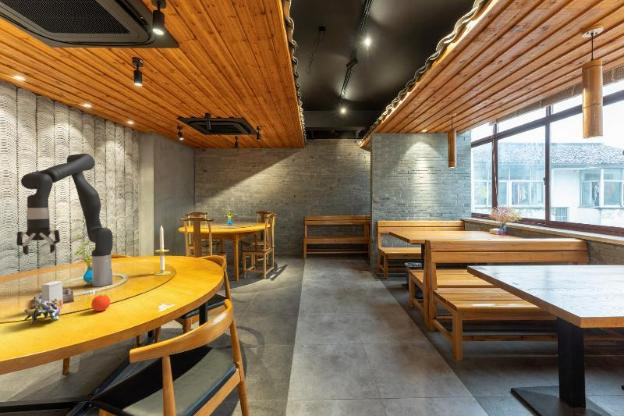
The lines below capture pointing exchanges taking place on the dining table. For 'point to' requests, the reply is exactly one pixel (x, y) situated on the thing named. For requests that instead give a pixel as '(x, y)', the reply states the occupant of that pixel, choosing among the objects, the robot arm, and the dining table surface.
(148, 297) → the dining table surface
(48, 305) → the passion flower
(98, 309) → the clementine
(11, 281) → the dining table surface
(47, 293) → the skincare box
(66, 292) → the brown shallow box
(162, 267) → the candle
